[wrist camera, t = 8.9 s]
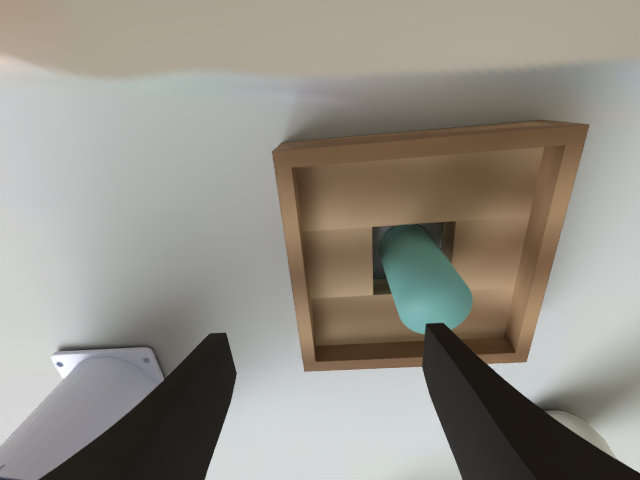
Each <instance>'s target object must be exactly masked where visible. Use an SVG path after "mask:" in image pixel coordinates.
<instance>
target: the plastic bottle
mask: <svg viewBox="0 0 640 480" xmlns="http://www.w3.org/2000/svg"><path fill="white" fill-rule="evenodd" d="M545 412H546V413H548V414H549V415H550V416H552V417H553V418H554V419H556V420H557V421H559V422H560V423H561V424H563V425H564V426H566V427H567V428H569V429H570V430H572V431H573V432H575V433H576V434H578V435H579V436H581V437H582V438H584V439H585V440H587V441H588V442H590V443H591V444H593V445H594V446H596V447H598V448H599V449H601V450H602V451H604V452H605V453H607V454H609V455H610V456H612V457H613V458H615V459H617V458H616V457H615V455H614V454H613V452H612V451H611V449H610V447H609V446H608V444H607V443H606V441H605V440H604V438H603V437H601V436H600V435H599V434H598V433H597V432H596V431H595V430H594V429H593V428H592V427H591V426H590V425H589V424H588V423H587V422H586V421H585V420H583V419H581V418H579V417H577V416H575V415H572V414H570V413H568V412H565V411H558V410H551V411H545Z"/></svg>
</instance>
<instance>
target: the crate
mask: <svg viewBox="0 0 640 480" xmlns="http://www.w3.org/2000/svg"><path fill="white" fill-rule="evenodd" d="M588 128H589V125H588V124H578V123H568V122H558V121H548V120H536V121H525V122H513V123H501V124H490V125H478V126H467V127H455V128H444V129H432V130H421V131H409V132H398V133H386V134H375V135H363V136H351V137H340V138H328V139H317V140H305V141H294V142H282V143H281V144H280V145H279V146H278V147H277V148H275V149H274V150H273V151H272V154H273V161H274V168H275V174H276V181H277V188H278V195H279V202H280V209H281V215H282V222H283V229H284V236H285V243H286V249H287V256H288V263H289V270H290V277H291V283H292V290H293V297H294V304H295V311H296V318H297V324H298V331H299V338H300V345H301V352H302V358H303V365H304V372H306V371H330V370H353V369H376V368H400V367H422V362H423V350H424V338H425V334H421V333H417V332H415V331H412V330H411V329H409V328H408V327H406V326H405V325H404V324H403V322H402V321H401V319H400V317H399V314H398V311H397V308H396V305H395V302H394V299H393V296H392V293H391V290H390V287H389V283H388V280H387V279H373V257H372V227H377V226H392V225H406V224H421V223H435V222H444V225H443V237H442V248H441V251H442V252H443V253H444V255H445V256H446V258H447V259H448V260H449V262H450V263H451V264H452V266H453V267H454V268H455V270H456V271H457V272H458V274H459V275H460V276H461V278H462V279H463V280H464V282H465V283H466V284H467V286H468V287H469V289H470V291H471V293H472V297H473V303H472V308H471V311H470V313H469V314H468V316H467V317H466V319H465V320H464V321H463V322H462V323H461V324H459V325H458V326H457V327H455V328H453V329H451V331H453V332H454V333H455V334H456V335H457V336H458V337H459V338H460V339H461V340H462V341H463V342H464V343H465V344H466V345H467V346H468V347H469V348H470V349H471V350H472V351H473V352H474V353H475V354H476V355H477V356H478V357H480V358H481V359H482V360H483V361H484V362H485V363H486V364H494V363H517V362H527V358H528V354H529V351H530V347H531V343H532V339H533V336H534V332H535V328H536V324H537V320H538V317H539V313H540V309H541V305H542V302H543V298H544V294H545V290H546V287H547V283H548V279H549V275H550V271H551V268H552V264H553V260H554V256H555V253H556V249H557V245H558V241H559V237H560V234H561V230H562V226H563V222H564V219H565V215H566V211H567V207H568V203H569V200H570V196H571V192H572V188H573V185H574V181H575V177H576V173H577V170H578V166H579V162H580V158H581V154H582V151H583V147H584V143H585V139H586V136H587V132H588Z"/></svg>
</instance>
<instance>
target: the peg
mask: <svg viewBox="0 0 640 480" xmlns="http://www.w3.org/2000/svg"><path fill="white" fill-rule="evenodd" d="M379 256H380V259H381V262H382V265H383V268H384V271H385V274H386V277H387V280H388V283H389V287H390V290H391V293H392V296H393V299H394V302H395V305H396V308H397V311H398V314H399V317H400V319H401V321H402V322H403V324H404V325H405V326H406V327H408V328H409V329H411V330H412V331H415V332H417V333H421V334H425V326H426V323H444V324H445V325H446V326H447V327H448V328H449V329H450V330H451V329H453V328H455V327H457V326H458V325H459V324H461V323H462V322H463V321H464V320H465V319H466V317H467V316H468V314H469V313H470V311H471V308H472V303H473V297H472V293H471V291H470V289H469V287H468V286H467V284H466V283H465V282H464V280H463V279H462V278H461V276H460V275H459V274H458V272H457V271H456V270H455V268H454V267H453V266H452V264H451V263H450V262H449V260H448V259H447V258H446V256H445V255H444V253H443V252H442V251H441V249H440V248H439V247H438V245H437V244H436V243H435V241H434V240H433V239H432V237H431V236H430V235H429V233H428V232H427V231H426V230H425V229H424V228H422V227H420V226H418V225H415V224H406V225H398V226H396V227H394V228H392V229H390V230H389V231H388V232H387V233H386V234H385V235H384V236H383V237H382V239H381V241H380V244H379Z"/></svg>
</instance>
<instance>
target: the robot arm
mask: <svg viewBox="0 0 640 480" xmlns="http://www.w3.org/2000/svg"><path fill="white" fill-rule="evenodd" d="M51 360H52V362H53V363H54V365H55V366H56V368H57V370H58V371H59V373H60V375H61V376H62V378H63V380H62V381H61V382H60V384H59V385H58V386H57V387H56V388H55V389H54V390H53V391H52V392H51V393H50V394H49V395H48V396H47V397H46V398H45V399H44V401H43V402H42V403H41V404H40V405H39V406H38V407H37V408H36V409H35V410H34V411H33V412H32V413H31V414H30V415H29V416H28V417H27V419H26V420H25V421H24V422H23V423H22V424H21V425H20V426H19V427H18V428H17V429H16V430H15V431H14V432H13V433H12V434H11V436H10V437H9V438H8V439H7V440H6V441H5V442H4V443H3V444H2V445H1V446H0V480H205V477H206V473H207V470H208V467H209V464H210V461H211V458H212V456H213V453H214V450H215V447H216V444H217V441H218V438H219V435H220V432H221V429H222V426H223V423H224V420H225V417H226V414H227V412H228V408H229V405H230V402H231V398H232V394H233V389H234V384H235V379H236V374H237V373H236V369H235V365H234V362H233V358H232V354H231V350H230V346H229V342H228V338H227V334H226V333H211V334H209V335H208V336H207V337H206V338H205V339H204V340H203V341H202V342H201V343H200V344H199V345H198V346H197V347H196V348H195V349H194V350H193V351H192V352H191V353H190V354H189V355H188V356H187V357H186V358H185V359H184V360H183V361H182V362H181V363H180V364H179V365H178V366H177V367H176V368H175V369H174V370H173V371H172V372H171V373H170V374H169V375H168V376H167V377H166V378H165V379H164V377H163V375H162V372H161V370H160V368H159V365H158V363H157V360H156V358H155V356H154V353H153V351H152V350H151V349H150V348H148V347H139V348H119V349H98V350H78V351H58V352H55V353H54V354H53V355H52V356H51ZM422 368H423V372H424V376H425V379H426V383H427V387H428V390H429V394H430V397H431V399H432V402H433V405H434V407H435V410H436V412H437V415H438V417H439V420H440V422H441V425H442V427H443V430H444V432H445V435H446V438H447V440H448V443H449V445H450V448H451V450H452V453H453V455H454V458H455V460H456V463H457V465H458V468H459V471H460V474H461V477H462V479H463V480H640V473H638V472H637V471H635V470H633V469H632V468H630V467H628V466H626V465H625V464H623V463H622V462H620V461H618V460H617V459H615V458H613V457H612V456H610V455H609V454H607V453H605V452H604V451H602V450H601V449H599V448H598V447H596V446H594V445H593V444H591V443H590V442H588V441H587V440H585V439H584V438H582V437H581V436H579V435H578V434H576V433H575V432H573V431H572V430H570V429H569V428H567V427H566V426H564V425H563V424H561V423H560V422H559V421H557V420H556V419H554V418H553V417H552V416H550V415H549V414H548V413H546V412H545V411H544V410H542V409H541V408H539V407H538V406H537V405H535V404H534V403H533V402H531V401H530V400H529V399H527V398H526V397H525V396H524V395H522V394H521V393H520V392H519V391H517V390H516V389H515V388H514V387H513V386H511V385H510V384H509V383H508V382H507V381H505V380H504V379H503V378H502V377H501V376H500V375H498V374H497V373H496V372H495V371H494V370H493V369H492V368H491V367H489V366H488V365H487V364H486V363H485V362H484V361H483V360H482V359H481V358H480V357H478V356H477V355H476V354H475V353H474V352H473V351H472V350H471V349H470V348H469V347H468V346H467V345H466V344H465V343H464V342H463V341H462V340H461V339H460V338H459V337H458V336H457V335H456V334H455V333H454V332H453V331H451V330H450V329H449V328H448V327H447V326H446V325H445V324H444V323H426V326H425V338H424V350H423V362H422Z"/></svg>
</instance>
